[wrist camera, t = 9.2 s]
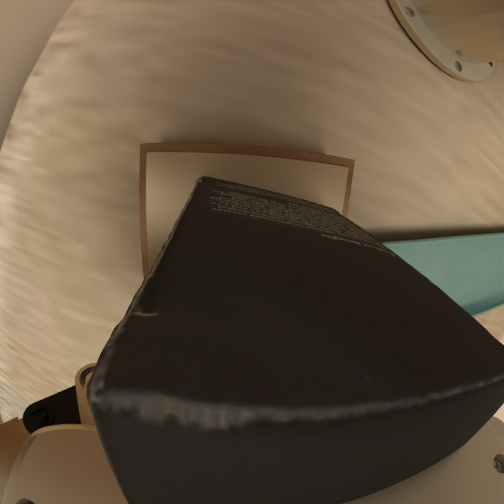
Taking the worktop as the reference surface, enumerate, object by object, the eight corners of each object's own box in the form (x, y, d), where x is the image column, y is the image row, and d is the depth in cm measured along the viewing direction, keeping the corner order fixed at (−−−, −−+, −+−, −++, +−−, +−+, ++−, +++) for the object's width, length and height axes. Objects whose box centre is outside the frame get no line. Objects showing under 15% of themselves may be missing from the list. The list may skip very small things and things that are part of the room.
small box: (276, 379, 16) (311, 543, 6) (166, 364, 14) (142, 542, 5) (344, 208, 12) (543, 373, 2) (195, 171, 11) (30, 387, 1)
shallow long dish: (522, 224, 20) (536, 231, 18) (504, 293, 24) (515, 302, 22) (332, 232, 19) (346, 245, 16) (322, 338, 22) (331, 357, 20)
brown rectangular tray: (160, 142, 15) (138, 143, 11) (326, 155, 16) (357, 160, 12) (166, 338, 20) (157, 378, 16) (295, 341, 21) (308, 380, 17)
